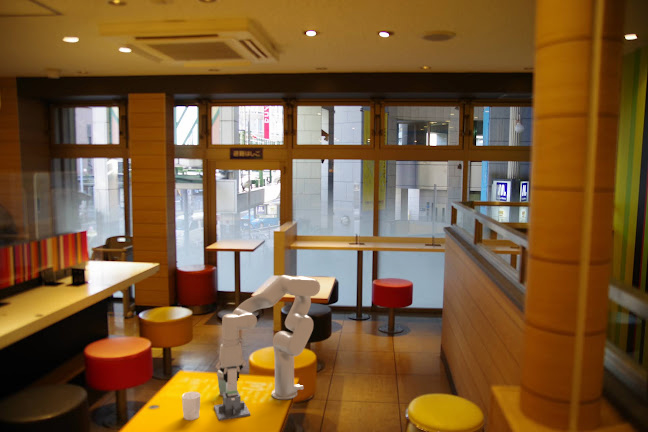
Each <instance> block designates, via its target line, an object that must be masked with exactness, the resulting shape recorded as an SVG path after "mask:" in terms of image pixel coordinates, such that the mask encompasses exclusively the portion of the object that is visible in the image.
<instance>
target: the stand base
mask: <svg viewBox="0 0 648 432" xmlns="http://www.w3.org/2000/svg"><path fill="white" fill-rule="evenodd" d="M213 409H214V411H215V414H216V416H217V419H218V421H227V420H231V419H236V418H237V419H238V418H243V417H250V416H251V412H250V410H249V408H248V406H247V405H246V403H245V401H244V400H242V399H241V394H240V393H239V391H238V390H237V396H235V397H229V398H227V397H226V392H225V393H223V396H222V403H221V404H214V405H213Z"/></svg>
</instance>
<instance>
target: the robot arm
mask: <svg viewBox="0 0 648 432" xmlns="http://www.w3.org/2000/svg"><path fill="white" fill-rule="evenodd" d="M320 290H321V285H320V282H319V281H318V280H316V279H314V278H310V277H308V276H303V275H296V276H291V275H287V274H282V275H279V276H278V278H276V279H275V280H274V281H273V282H272V283H271V284H269V285H268V286H266V288H265V289H263V291H261V292H260V293H257V294H255V295H253V296H251V297H250V298H247V299H245V300H244V301H243V302H241V303H240V304H239V305H238V306H237V307H236V308H235V309H234V310H233V311H232V313H226V314H224V315H223V316H222V317H221V320H222V321H221V323H222V327H221V329H222V332H221V333H222V343H221V344H220V348H219V360H218V362H217V363H216V365H215V369H217V371H218V370H220V371H221V372H223V376H224V380H225V382H227V367H234V366H236V367H237V382H238V381H239V379H240V372H241V371H242V369H243V368H244V367H245V366H246V365H247V362H246V360H245V359H244V357H243V347H242V343H241V342H242V341H243V337H240V330H252V329H253V328H255V327H256V325H257V324H258V318H257V316H256V315H255V314H254V313H255V311H257V310H261V309H267V308H271V307H272V308H273V307H274V306H275V305H276V304H277V303H278V302H279V301H280V300H281V299H282V298H283V297H285V295H289V296H294V301H293V304H292V306H291V308H290V310H289V311H288V314H287V316H286V318H285V321H284V325H285V328H286V329H288V330H290V331H292V332H293V333H292V332H289V331H285V330H280V331H278V332H276V333H275V334H274V336H273V339H272V346H273V347H272V348H273V352H274V389H273V390H272V391H271V396H272V397H273V398H274V399H277V400H291V399H294V398H295V397H297V396H298V390H304V385H300V384H299V383H298V384H295V357H298V356H300V355H301V354H302V353H303V351H304V350H305V348H306V345H307V343H308V341H309V339H310V337H311V335H312V332H313V330H314V320H313V319H312V317H311V316H309V315H308V314H309V311H310V309H311V305H312V304H311V303H312V300H311V299H312V297H315V296H317V295H318V294H319V293H320Z"/></svg>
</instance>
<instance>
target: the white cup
mask: <svg viewBox="0 0 648 432" xmlns="http://www.w3.org/2000/svg"><path fill="white" fill-rule="evenodd" d="M181 400H182V401H181V402H182V412H183V413H182V414H183V419H184V420H187V421H194V420H196V419H198V418H199V417H200V407H201V393H200V392H198V391H188V392H184V393H183V394H182V396H181Z"/></svg>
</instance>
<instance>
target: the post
mask: <svg viewBox="0 0 648 432" xmlns="http://www.w3.org/2000/svg"><path fill="white" fill-rule="evenodd" d="M237 391H238V381H237V367H236V366H234V367H227V382H226V397H227V398H229V397H235V396H237Z"/></svg>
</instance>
